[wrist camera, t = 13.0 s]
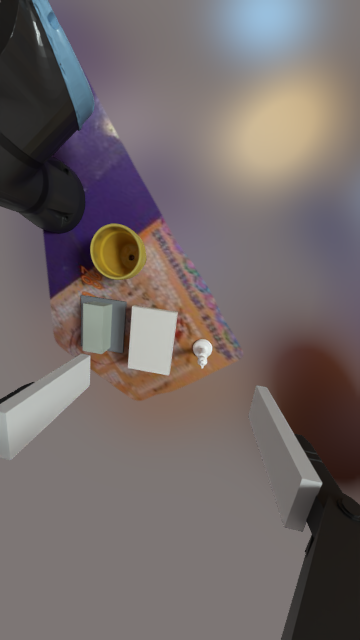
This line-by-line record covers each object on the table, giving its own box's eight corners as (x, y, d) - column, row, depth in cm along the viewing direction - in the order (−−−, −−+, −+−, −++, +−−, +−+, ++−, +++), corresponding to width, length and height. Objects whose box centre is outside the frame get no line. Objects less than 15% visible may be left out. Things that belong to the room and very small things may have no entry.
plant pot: (140, 287, 46) (124, 290, 37) (105, 264, 46) (80, 260, 37) (162, 251, 44) (151, 243, 34) (126, 225, 44) (104, 211, 34)
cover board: (134, 305, 42) (132, 306, 41) (177, 311, 41) (176, 313, 40) (130, 364, 46) (127, 367, 44) (169, 372, 45) (168, 375, 44)
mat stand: (82, 295, 49) (69, 297, 44) (126, 301, 48) (117, 304, 43) (82, 345, 52) (69, 351, 47) (123, 352, 51) (114, 360, 46)
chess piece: (211, 338, 47) (213, 354, 37) (212, 356, 48) (214, 376, 38) (192, 339, 48) (189, 355, 38) (193, 357, 49) (191, 376, 39)
